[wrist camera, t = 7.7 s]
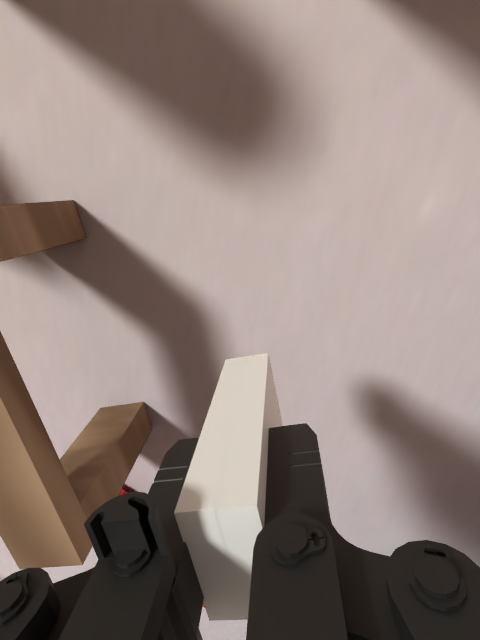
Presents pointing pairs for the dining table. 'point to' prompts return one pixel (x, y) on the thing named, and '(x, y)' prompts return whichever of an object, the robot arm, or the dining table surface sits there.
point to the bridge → (33, 441)
